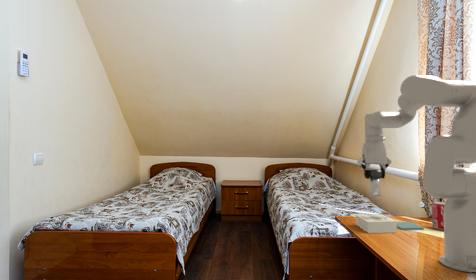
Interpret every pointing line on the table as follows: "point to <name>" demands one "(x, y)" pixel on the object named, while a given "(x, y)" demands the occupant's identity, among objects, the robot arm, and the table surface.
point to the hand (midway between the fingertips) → (374, 177)
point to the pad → (408, 226)
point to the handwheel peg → (375, 181)
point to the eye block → (376, 223)
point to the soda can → (438, 215)
